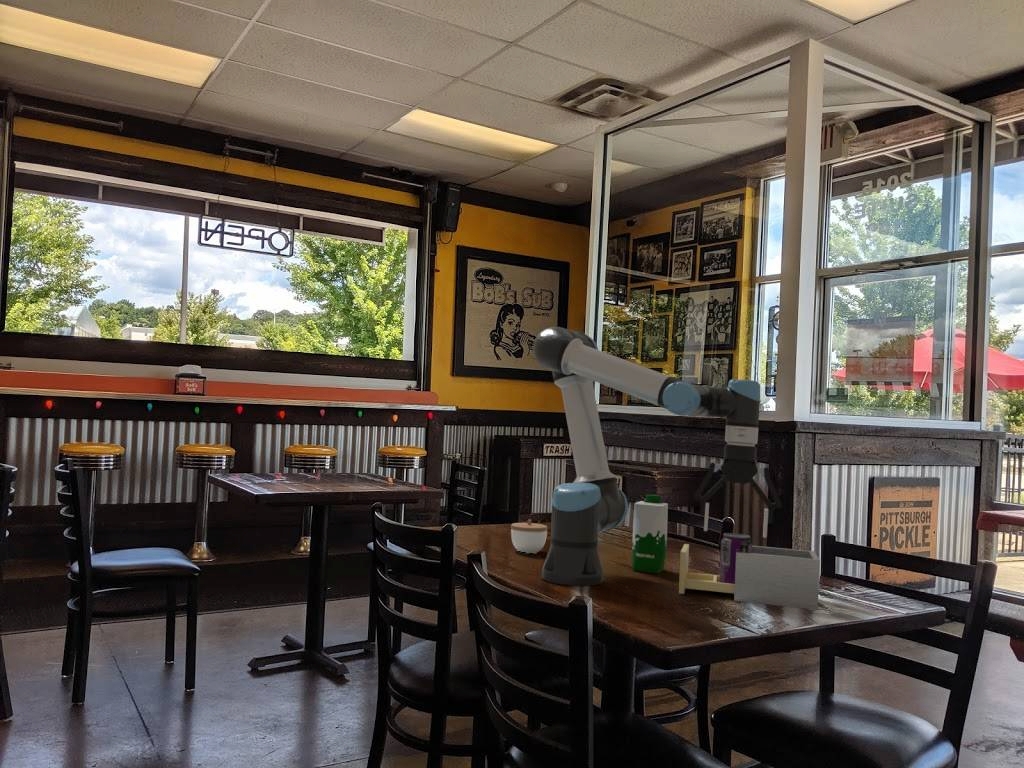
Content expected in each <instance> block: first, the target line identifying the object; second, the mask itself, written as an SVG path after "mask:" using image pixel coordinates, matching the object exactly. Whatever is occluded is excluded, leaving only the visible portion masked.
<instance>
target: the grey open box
mask: <svg viewBox="0 0 1024 768" xmlns="http://www.w3.org/2000/svg"><path fill="white" fill-rule="evenodd" d="M820 561H821V560H820V558H819V557H818V555H817V553H816V552H815V551H814V550H805V549H803V550H802V549H794V548H783V547H771V546H762V545H761V546H760V545H752V553H745V552H736V570H735V593H733V597H734V598H733V599H734V600H733V601H734V602H742V603H751V604H761V605H771V606H779V607H787V608H788V607H789V608H796V607H797V609H805V608H806V609H807V610H816V611H818V610H819V591H820V590H819V588H820V587H819V585H820V565H821V564H820V563H821V562H820Z"/></svg>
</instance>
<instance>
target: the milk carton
mask: <svg viewBox="0 0 1024 768" xmlns="http://www.w3.org/2000/svg"><path fill="white" fill-rule="evenodd" d="M633 504H634V509H633V522H632V523H633V524H632V546H631V548H632V549H631V555H632V557H631V558H632V560H631V561H632V564H631V565H632V571H634V572H642V573H651V574H659V573H661V572H662V571H664V569H665V563H666V562H665V561H666V556H667V555H666V554H667V543H668V542H667V541H668V518H669V517H668V512H669V511H668V509H669V504H668V503H665V502H661V495H660V494H651V493H650V494H645V499H644V500H640V501H636V502H634V503H633Z"/></svg>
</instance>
